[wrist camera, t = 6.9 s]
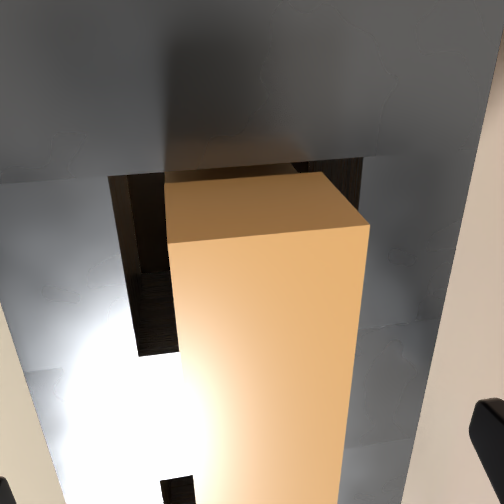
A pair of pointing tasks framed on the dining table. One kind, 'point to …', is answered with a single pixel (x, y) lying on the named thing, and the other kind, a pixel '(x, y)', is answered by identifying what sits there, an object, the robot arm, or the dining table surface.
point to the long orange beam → (265, 328)
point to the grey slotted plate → (218, 156)
